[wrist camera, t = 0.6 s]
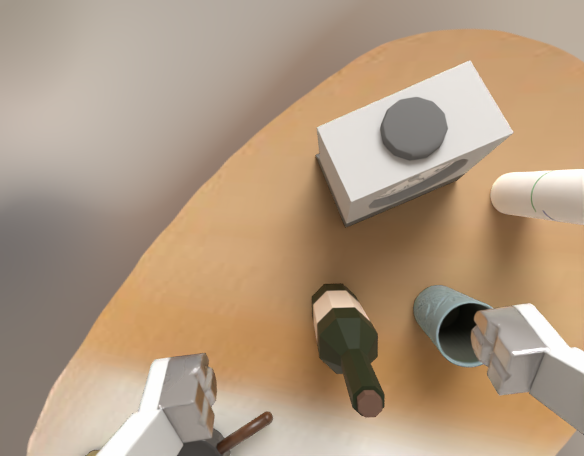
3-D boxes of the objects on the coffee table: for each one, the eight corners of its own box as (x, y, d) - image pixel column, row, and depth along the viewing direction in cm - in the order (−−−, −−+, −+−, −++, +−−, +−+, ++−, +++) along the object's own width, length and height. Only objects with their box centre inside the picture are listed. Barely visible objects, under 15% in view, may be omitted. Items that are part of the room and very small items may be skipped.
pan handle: (268, 407, 65) (268, 414, 63) (275, 415, 65) (274, 423, 63) (213, 443, 66) (211, 451, 64) (220, 451, 66) (218, 459, 64)
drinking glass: (399, 297, 65) (424, 322, 53) (451, 269, 65) (487, 288, 53) (425, 344, 66) (455, 379, 55) (476, 318, 66) (517, 347, 54)
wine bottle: (303, 318, 66) (314, 429, 36) (320, 275, 65) (346, 353, 35) (346, 334, 66) (393, 457, 36) (364, 291, 65) (427, 382, 35)
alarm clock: (345, 227, 64) (371, 247, 44) (310, 142, 62) (319, 121, 42) (456, 180, 63) (534, 178, 43) (423, 92, 61) (488, 47, 41)
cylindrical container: (510, 222, 64) (650, 247, 39) (481, 195, 63) (605, 202, 39) (540, 192, 63) (702, 197, 39) (511, 163, 63) (656, 150, 38)
